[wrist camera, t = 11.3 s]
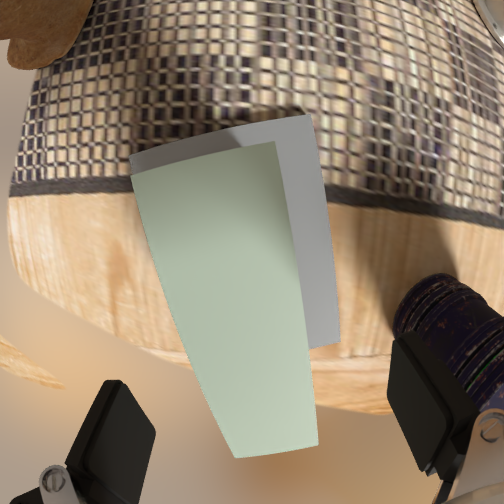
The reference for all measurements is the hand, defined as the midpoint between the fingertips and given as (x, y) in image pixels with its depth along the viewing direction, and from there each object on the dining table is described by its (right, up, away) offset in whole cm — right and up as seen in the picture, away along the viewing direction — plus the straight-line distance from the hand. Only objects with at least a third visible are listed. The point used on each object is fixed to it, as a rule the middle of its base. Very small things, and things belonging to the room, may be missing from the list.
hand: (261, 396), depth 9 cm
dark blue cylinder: (+19, -2, +18) cm, 26 cm away
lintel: (-1, +2, +6) cm, 7 cm away
